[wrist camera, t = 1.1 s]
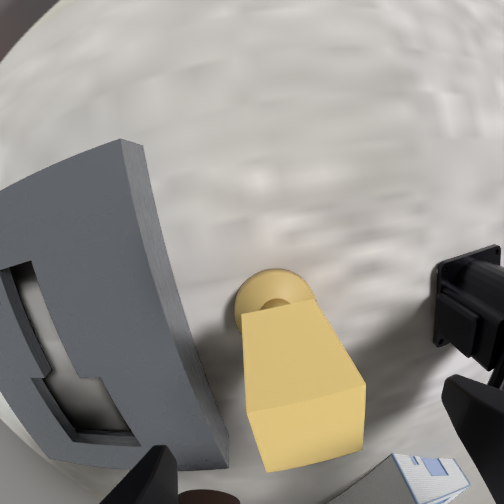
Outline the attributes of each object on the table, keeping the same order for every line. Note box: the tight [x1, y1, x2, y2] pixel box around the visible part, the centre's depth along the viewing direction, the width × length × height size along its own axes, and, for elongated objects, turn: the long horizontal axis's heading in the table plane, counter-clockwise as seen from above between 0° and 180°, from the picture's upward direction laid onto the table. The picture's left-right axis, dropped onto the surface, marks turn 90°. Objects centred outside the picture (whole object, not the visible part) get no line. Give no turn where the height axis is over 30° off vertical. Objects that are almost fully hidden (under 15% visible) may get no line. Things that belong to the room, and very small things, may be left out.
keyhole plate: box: [0, 139, 229, 471], centre depth 15 cm, size 16×20×3 cm
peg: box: [235, 269, 366, 473], centre depth 12 cm, size 4×4×10 cm
